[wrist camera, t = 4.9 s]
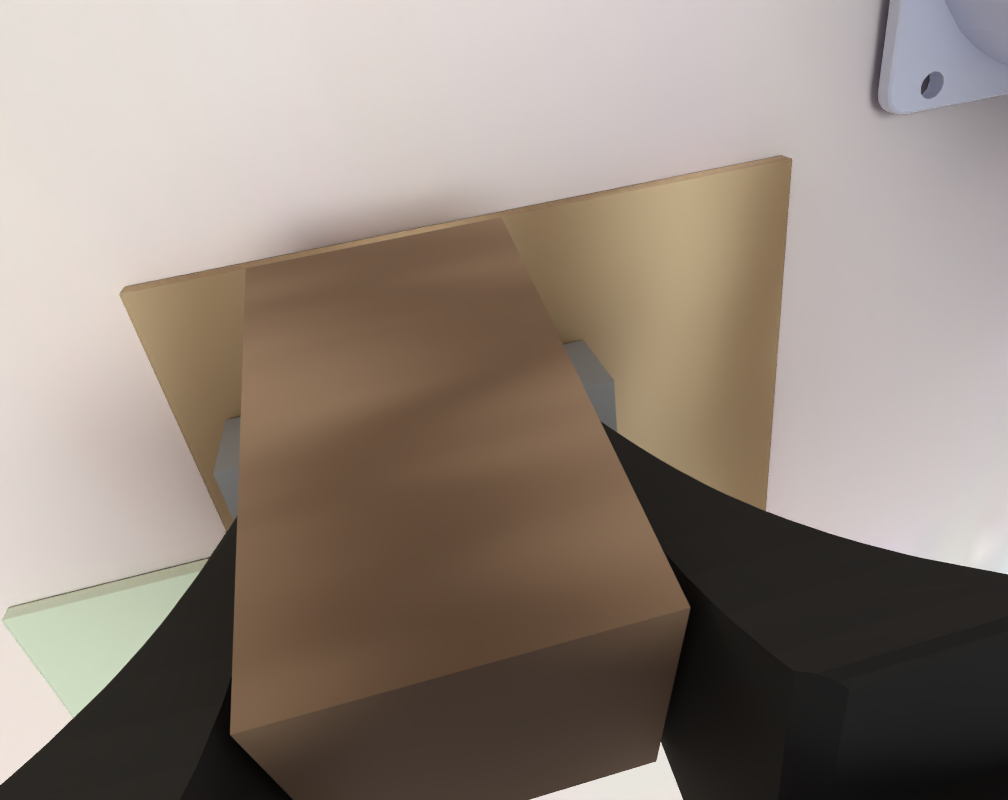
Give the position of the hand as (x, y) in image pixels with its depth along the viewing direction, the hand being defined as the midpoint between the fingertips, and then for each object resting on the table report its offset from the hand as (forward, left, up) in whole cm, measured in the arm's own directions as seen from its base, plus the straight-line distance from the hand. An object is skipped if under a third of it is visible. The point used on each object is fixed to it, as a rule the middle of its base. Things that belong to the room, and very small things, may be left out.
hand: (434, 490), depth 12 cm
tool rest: (+8, +7, -5) cm, 11 cm away
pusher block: (0, -2, -2) cm, 3 cm away
